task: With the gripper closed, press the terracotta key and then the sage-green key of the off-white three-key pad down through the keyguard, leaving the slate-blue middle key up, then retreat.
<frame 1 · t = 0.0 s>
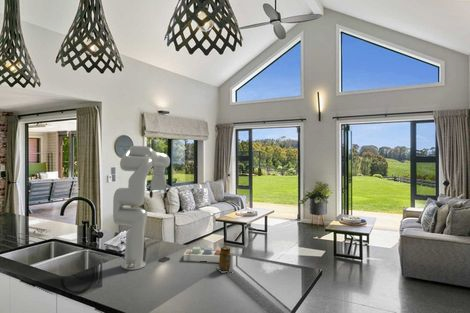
hand: (158, 198, 207), 31 cm above the worktop, fingers open, 9 cm apart
keyguard: (207, 258, 179), on the worktop
key slate: (207, 251, 179), point 4 cm above the worktop, slide at 0.0 cm
key sage: (196, 251, 179), point 4 cm above the worktop, slide at 0.0 cm
condiment: (224, 270, 162), on the worktop
key terracotta: (219, 252, 179), point 4 cm above the worktop, slide at 0.0 cm
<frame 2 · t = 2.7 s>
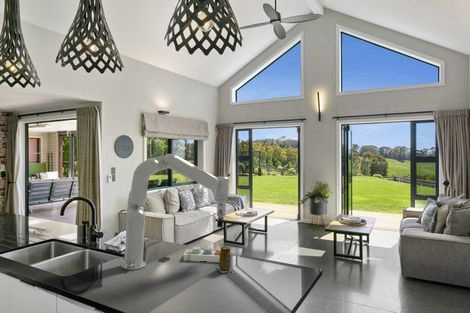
hand: (220, 225, 179), 21 cm above the worktop, fingers open, 9 cm apart
nothing on the worktop moved.
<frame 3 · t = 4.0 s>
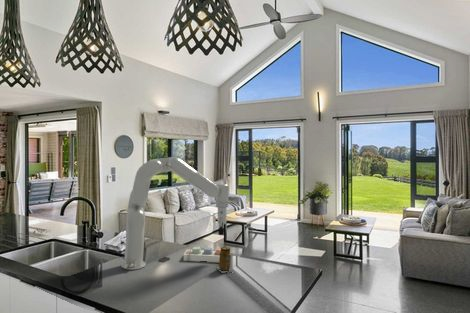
hand: (221, 234, 179), 15 cm above the worktop, fingers closed
nothing on the worktop moved.
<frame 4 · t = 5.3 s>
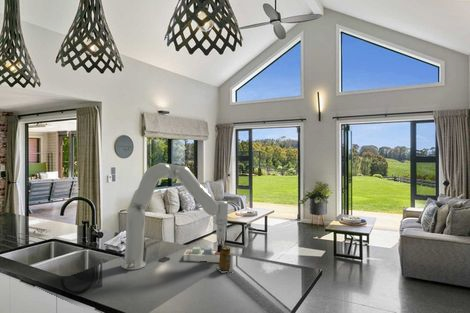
hand: (219, 251, 179), 5 cm above the worktop, fingers closed
key terracotta: (219, 254, 179), point 3 cm above the worktop, slide at 1.5 cm, touching gripper
everything else where it was.
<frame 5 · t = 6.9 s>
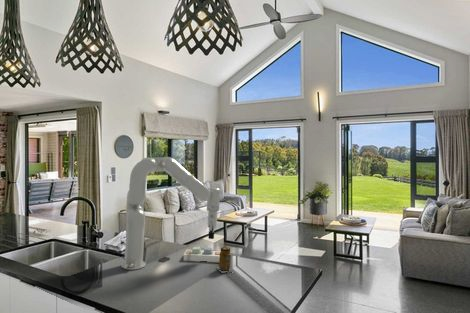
hand: (211, 238, 179), 12 cm above the worktop, fingers closed
key terracotta: (219, 255, 179), point 2 cm above the worktop, slide at 2.2 cm
everything else where it was.
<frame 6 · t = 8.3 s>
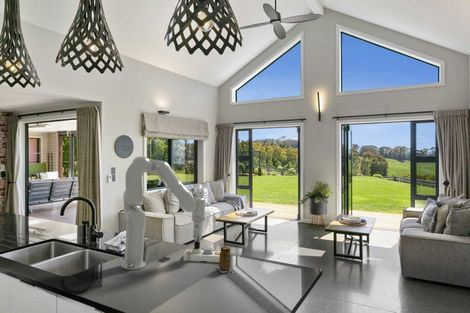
hand: (196, 248, 179), 6 cm above the worktop, fingers closed
key sage: (196, 251, 179), point 4 cm above the worktop, slide at 0.3 cm, touching gripper
everything else where it was.
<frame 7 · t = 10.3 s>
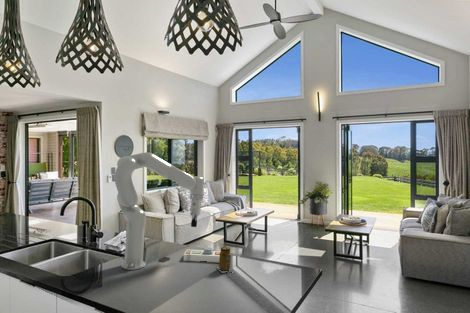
hand: (193, 226, 181), 19 cm above the worktop, fingers closed
key sage: (196, 254, 179), point 2 cm above the worktop, slide at 2.2 cm
everything else where it was.
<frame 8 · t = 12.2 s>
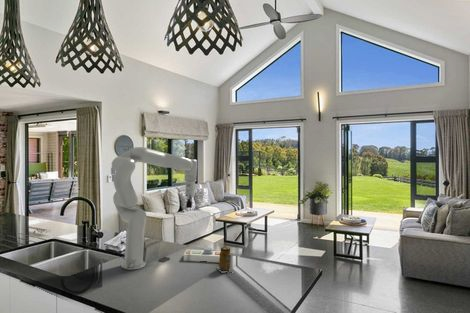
hand: (189, 207, 187), 29 cm above the worktop, fingers closed
nothing on the worktop moved.
at the end: key terracotta slide at 2.2 cm; key sage slide at 2.2 cm; key slate slide at 0.0 cm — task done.
